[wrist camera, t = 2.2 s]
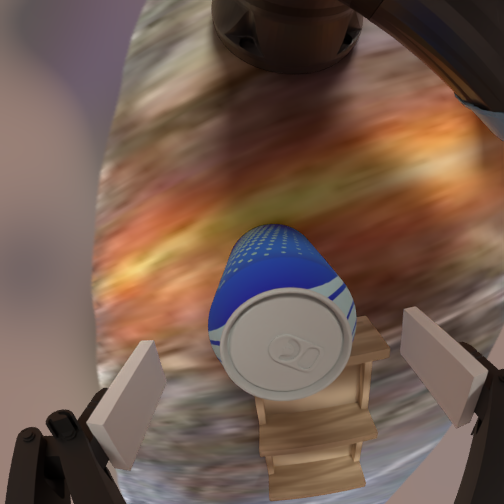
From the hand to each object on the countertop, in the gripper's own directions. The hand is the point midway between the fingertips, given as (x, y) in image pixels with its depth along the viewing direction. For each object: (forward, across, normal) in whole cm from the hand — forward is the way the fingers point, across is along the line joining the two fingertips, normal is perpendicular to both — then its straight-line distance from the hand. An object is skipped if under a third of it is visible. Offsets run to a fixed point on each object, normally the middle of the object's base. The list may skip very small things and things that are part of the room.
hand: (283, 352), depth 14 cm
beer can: (+16, 0, 0) cm, 16 cm away
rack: (+16, +3, -19) cm, 25 cm away
